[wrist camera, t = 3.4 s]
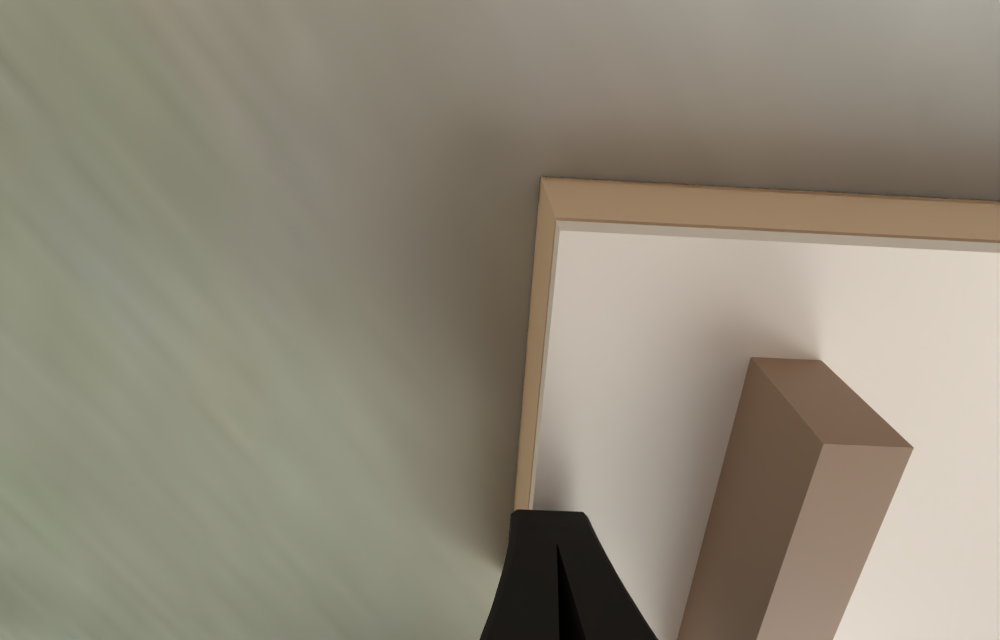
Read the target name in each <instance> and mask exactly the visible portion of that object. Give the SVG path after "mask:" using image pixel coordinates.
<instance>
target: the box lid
mask: <svg viewBox="0 0 1000 640" xmlns="http://www.w3.org/2000/svg"><path fill="white" fill-rule="evenodd" d="M529 510H551V511H577V512H584V513H585V514H586V515H587V516H588V518H589V520H590V522H591V525H592V527H593V529H594V531H595V533H596V535H597V537H598V539H599V541H600V543H601V545H602V547H603V549H604V551H605V553H606V554H607V556H608V558H609V560H610V562H611V564H612V565H613V567H614V569H615V571H616V573H617V574H618V576H619V578H620V579H621V581H622V583H623V585H624V586H625V588H626V590H627V591H628V593H629V594H630V596H631V598H632V599H633V601H634V603H635V604H636V606H637V607H638V609H639V611H640V612H641V614H642V615H643V617H644V619H645V620H646V622H647V623H648V625H649V626H650V628H651V629H652V631H653V632H654V634H655V635H656V637H657V638H658V640H1000V243H986V242H967V241H948V240H928V239H909V238H889V237H870V236H851V235H831V234H812V233H792V232H773V231H754V230H734V229H715V228H695V227H676V226H656V225H637V224H618V223H598V222H579V221H559V220H556V228H555V239H554V249H553V260H552V270H551V281H550V291H549V302H548V312H547V323H546V334H545V344H544V355H543V365H542V376H541V386H540V397H539V407H538V418H537V428H536V439H535V449H534V460H533V470H532V481H531V491H530V502H529Z"/></svg>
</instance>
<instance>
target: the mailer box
mask: <svg viewBox="0 0 1000 640" xmlns="http://www.w3.org/2000/svg"><path fill="white" fill-rule="evenodd" d="M556 220H559V221H579V222H598V223H618V224H637V225H656V226H676V227H695V228H715V229H734V230H754V231H773V232H792V233H812V234H831V235H851V236H870V237H889V238H909V239H928V240H948V241H967V242H986V243H1000V201H987V200H969V199H950V198H931V197H913V196H894V195H875V194H856V193H838V192H819V191H800V190H782V189H763V188H744V187H725V186H707V185H688V184H669V183H651V182H632V181H613V180H595V179H576V178H557V177H541V179H540V191H539V203H538V216H537V228H536V240H535V252H534V265H533V277H532V289H531V302H530V314H529V326H528V339H527V351H526V363H525V375H524V388H523V400H522V412H521V425H520V437H519V449H518V461H517V474H516V486H515V498H514V511H516V510H517V509H525V510H529V502H530V491H531V481H532V470H533V460H534V449H535V439H536V428H537V418H538V407H539V397H540V386H541V376H542V365H543V355H544V344H545V334H546V323H547V312H548V302H549V291H550V281H551V270H552V260H553V249H554V239H555V228H556ZM514 511H513V512H514Z"/></svg>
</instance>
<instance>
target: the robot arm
mask: <svg viewBox="0 0 1000 640" xmlns="http://www.w3.org/2000/svg"><path fill="white" fill-rule="evenodd" d="M480 640H658V638H657V637H656V635H655V634H654V632H653V631H652V629H651V628H650V626H649V625H648V623H647V622H646V620H645V619H644V617H643V615H642V614H641V612H640V611H639V609H638V607H637V606H636V604H635V603H634V601H633V599H632V598H631V596H630V594H629V593H628V591H627V590H626V588H625V586H624V585H623V583H622V581H621V579H620V578H619V576H618V574H617V573H616V571H615V569H614V567H613V565H612V564H611V562H610V560H609V558H608V556H607V554H606V553H605V551H604V549H603V547H602V545H601V543H600V541H599V539H598V537H597V535H596V533H595V531H594V529H593V527H592V525H591V522H590V520H589V518H588V516H587V515H586V514H585V513H584V512H577V511H551V510H525V509H517V510H516V511H514V512H513V513H511V518H510V531H509V544H508V550H507V555H506V559H505V563H504V568H503V571H502V575H501V578H500V582H499V585H498V588H497V592H496V595H495V598H494V602H493V605H492V608H491V611H490V613H489V616H488V619H487V621H486V624H485V627H484V629H483V632H482V635H481V637H480Z"/></svg>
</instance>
